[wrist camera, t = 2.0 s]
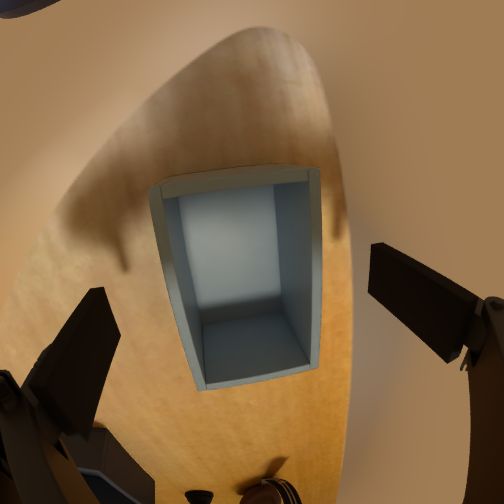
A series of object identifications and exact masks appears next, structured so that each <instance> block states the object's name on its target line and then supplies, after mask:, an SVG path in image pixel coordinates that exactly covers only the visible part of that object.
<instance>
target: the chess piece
mask: <svg viewBox="0 0 504 504" xmlns="http://www.w3.org/2000/svg"><path fill="white" fill-rule="evenodd" d="M185 497H186V498H187V500H188V502H189V503H190V504H210V503H211V501H212V498H213V493H211V492H207V491H190V492H187V493H185Z"/></svg>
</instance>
